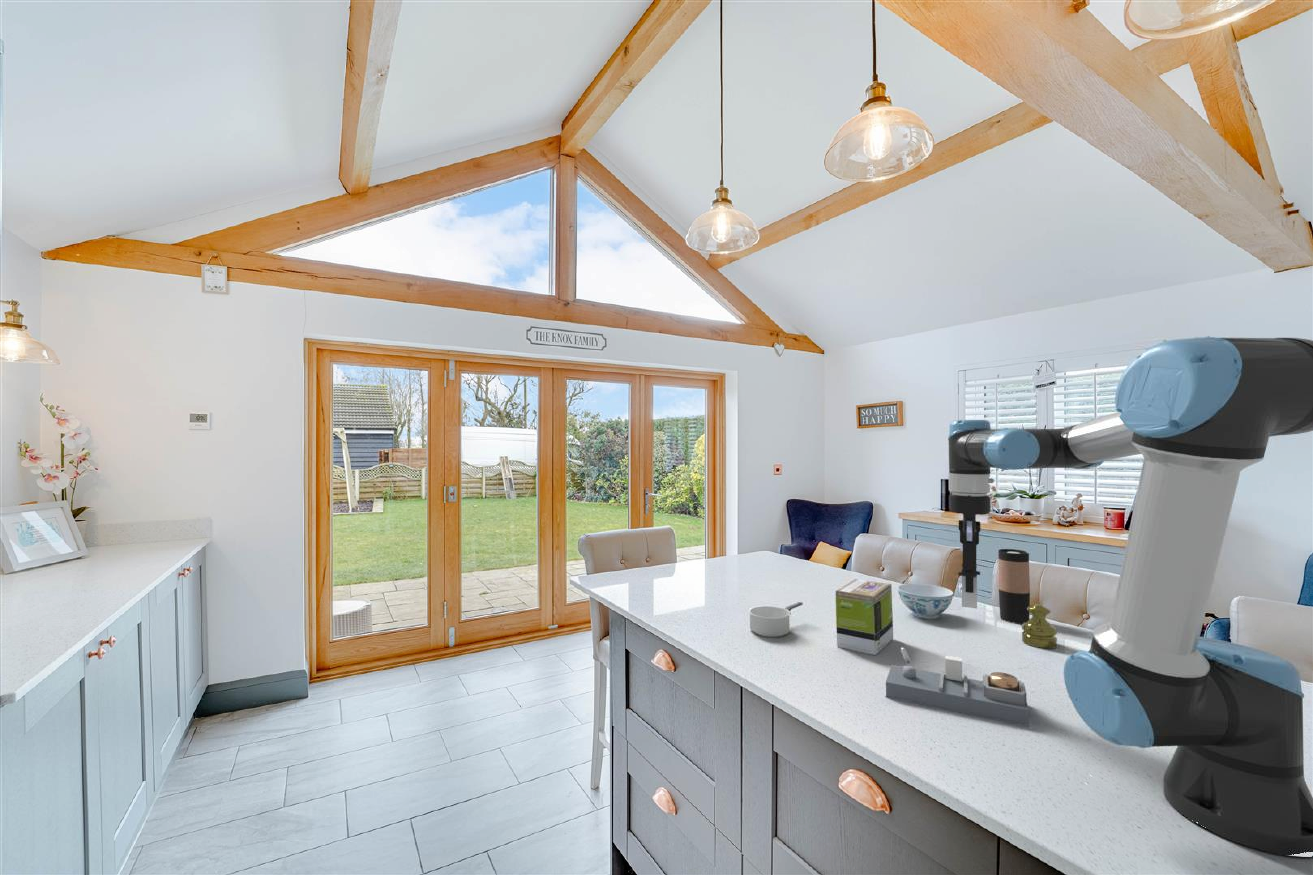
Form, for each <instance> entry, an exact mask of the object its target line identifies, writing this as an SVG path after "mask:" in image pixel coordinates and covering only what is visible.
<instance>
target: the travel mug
mask: <svg viewBox="0 0 1313 875" xmlns="http://www.w3.org/2000/svg"><path fill="white" fill-rule="evenodd" d="M1030 582H1031V581H1030V553H1029V552H1027V551H1025V550H1020V549H1013V548H1001V549H998V600H999V601H998V602H999V603H998V604H999V617H1000V619H1001V620H1002V619H1003V620H1002V621H1004V620H1005V622H1007V621H1010V622H1009V623H1011V622H1015V623H1014V624H1019V623H1024V622H1027V621H1028V620H1029V619H1030V614H1031V612H1029V611H1028V610H1027V607H1028V606H1031V602H1030V600H1031V583H1030Z"/></svg>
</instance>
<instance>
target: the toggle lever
mask: <svg viewBox="0 0 1313 875" xmlns="http://www.w3.org/2000/svg"><path fill="white" fill-rule="evenodd" d="M900 651H901V654H902V657H903V659H904V663H905V664H906V665H907V664H908V665H909V664H910V663H911V660H910V657H909V655H908V651H907V649H906V648H905V647H901V648H900Z"/></svg>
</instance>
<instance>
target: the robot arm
mask: <svg viewBox="0 0 1313 875" xmlns="http://www.w3.org/2000/svg"><path fill="white" fill-rule="evenodd" d="M1115 390H1116V391H1115V395H1114V396H1115V397H1114V406H1115V410H1116V412H1114V413H1110V414H1107V415H1104V416H1100V417H1096V418H1094V419H1091V420H1086V421H1083V422H1080V423H1078V424H1074V425H1070V426H1067V427H1062V428H1017V427H1016V428H1014V427H1013V428H1010V427H1009V428H1007V427H1006V428H995V429H994V428H993V429H991V423H990V421H989V420H987V419H960V420H959V419H957V420H953V421H951V422H950V423H949V431H948V432H949V434H948V437H947V438H948V439H947V440H948V469H949V471H948V491H949V492H950V494H949V495H948V510H949V511H950V512H951V513H954V514H962V516H963V517H962V519H961V520H960V519H959V520H958V530H959V542H960V543H961V544H962V564H961V567H962V568H961V571H958V576H959V577H961V607H963V608H969V609H978V576H981V571H977V569H978V568H977V567H978V566H977V546H978V545H979V544H980V532H981V521H977V520H976V519H977V516H976V515H980V516H984V515H989V514H990V513H991V497H990V496H989V495H987V494H990V493H991V484H993V483H995V480H994V478H990V477H991V468H993V469H994V468H995V469H1001V470H1004V471H1010V470H1011V471H1017V470H1025V469H1074V470H1077V469H1078V470H1079V469H1089V468H1096V467H1100V466H1101V465H1103V463H1104V462H1106V461H1111V460H1115V459H1122V458H1126V457H1131V456H1132V457H1133V456H1137V455H1142V457H1143V461H1142V465H1141V466H1142V467H1141V470H1140V471H1141V472H1140V476H1139V480H1138V486H1137V491H1136V495H1135V499H1134V500H1135V501H1134V506H1133V509H1132V515H1131V520H1130V525H1129V531H1128V535H1127V540H1126V544H1125V545H1126V546H1125V547H1124V548H1125V549H1124V554H1123V560H1122V564H1121V568H1120V573H1119V578H1118V584H1117V588H1116V592H1115V598H1114V604H1113V606H1112V607H1113V608H1112V613H1111V618H1110V621H1109V622H1106V623H1102V624H1100V625H1097V626H1096V627H1095V628H1094V629H1093V634H1092V639H1091V643H1090V648H1089V650H1088V651H1086V650H1079V651H1077V652H1075V653H1072V654H1070V655H1069V656H1068V657H1067V658H1066V660H1065V662H1064V665H1063V679H1064V680H1063V681H1064V685H1065V690H1066V692H1067V696H1068V698H1069V699H1070V701H1071V703H1072V705H1073V708H1074V709H1075V710H1076V712H1077V714H1078V715H1079V717H1080V718H1081V720H1082V721H1083V722H1084V724H1086V726H1087V727H1088V728H1089V729H1090V730H1091V731H1093V732H1094V733H1095V735H1097V736H1099V737H1100V738H1101V739H1102V740H1105V741H1106V742H1109V743H1111V744H1113V745H1117V746H1123V747H1137V748H1140V749H1148V748H1149V749H1150V748H1153V747H1176V749H1175V751H1174V753H1173V756H1172V758H1171V759H1170V762H1169V764H1168V766H1167V769H1166V770H1165V772H1164V775H1163V782H1162V783H1163V795H1164V797H1165V800H1166V801H1167V802H1168V803H1169V805H1170V806H1171V807H1172V808H1173V809H1175V811H1177V812H1178V813H1179V814H1181V815H1182V816H1183V815H1184V817H1185V818H1186V817H1188V818H1189V819H1191V820H1193V821H1194V822H1198V824H1200V825H1202V826H1204V827H1206V828H1207V829H1208V830H1207V829H1206V830H1207V831H1209V830H1211V831H1212V832H1211V831H1210V832H1211V833H1214V834H1216V835H1218V836H1220V837H1222V838H1225V839H1227V840H1229V841H1231V842H1235V843H1237V844H1239V843H1240V845H1243V846H1246V847H1248V848H1252V849H1255V850H1259V851H1262V852H1266V853H1270V854H1274V855H1279V856H1283V855H1292V854H1293V855H1294V854H1300V853H1304V852H1305V853H1306V852H1313V796H1312V793H1311V790H1310V789H1309V787H1308V784H1307V782H1306V780H1305V779H1306V778H1305V773H1304V772H1305V770H1304V769H1305V768H1304V765H1305V764H1304V761H1305V760H1304V758H1305V757H1304V707H1303V706H1304V705H1303V704H1304V703H1303V699H1304V698H1305V694H1304V693H1303V690H1302V680H1301V673H1300V671H1299V670H1298V669H1297V668H1296V666H1295V665H1293V663H1291V662H1290V661H1288V660H1287V659H1285V658H1282V657H1279V656H1277V655H1274V654H1272V653H1269V652H1266V651H1263V650H1261V649H1256V648H1253V647H1250V646H1246V645H1242V644H1239V643H1235V642H1230V641H1226V640H1222V639H1221V640H1220V639H1217V638H1211V637H1206V636H1201V632H1202V628H1203V625H1204V620H1205V617H1206V613H1207V608H1208V604H1209V600H1210V597H1211V593H1212V588H1213V583H1214V582H1215V581H1214V580H1215V575H1216V573H1217V568H1218V564H1219V560H1220V556H1221V552H1222V547H1223V544H1224V539H1225V536H1226V531H1227V528H1228V525H1229V524H1228V523H1229V520H1230V515H1231V511H1232V508H1233V507H1232V506H1233V503H1234V499H1235V494H1236V491H1237V486H1238V484H1239V479H1240V475H1241V472H1242V471H1243V470H1244V469H1246V468H1248V467H1251V466H1253V465H1254V464H1258V463H1259V462H1261V461H1263V460H1264V458H1265V453H1266V450H1267V447H1268V444H1269V439H1270V437H1278V436H1289V435H1299V434H1305V433H1306V434H1307V433H1310V432H1312V431H1313V340H1312V339H1308V338H1299V337H1215V336H1209V335H1208V336H1204V337H1203V336H1202V337H1201V336H1200V337H1199V336H1198V337H1191V338H1190V337H1189V338H1178V339H1170V340H1166V341H1162V342H1160V343H1157V344H1154V345H1152V346H1151V347H1149V348H1147V349H1146V350H1144V352H1143V353H1141V354H1140V355H1138V356H1136V357H1135V358H1133V360H1132V361H1131V362H1130V363H1129V364H1128V365H1127V367H1126V368H1125V369H1124V370H1123V373H1122V374H1121V376H1120V378H1119V381H1118V383H1117V386H1116V389H1115ZM1188 818H1187V819H1188ZM1189 819H1188V820H1189ZM1191 820H1190V821H1191ZM1193 821H1192V822H1193ZM1194 822H1193V823H1194ZM1198 824H1197V825H1198Z"/></svg>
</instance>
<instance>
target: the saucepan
mask: <svg viewBox="0 0 1313 875" xmlns="http://www.w3.org/2000/svg"><path fill="white" fill-rule="evenodd" d="M803 605H804V603H803V602H802V601H799V602H798V601H797V602H796V603H793V604H790V605H788V606H786V607H780V606H774V605H758V606H753V607H750V608H749V609H748V613H749V629H750V631H752V632H754V633H755V634H757V635H758V636H761V637H766V638H767V637H768V638H778V637H783V636H784V635H786V634H788V633H790V631H791V630H790V629H791V628H790V627H791V626H790V624H791V622H790V616H791V614H792V613H791V612H792V610H793V609H796V608H798V607H800V606H803Z"/></svg>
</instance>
